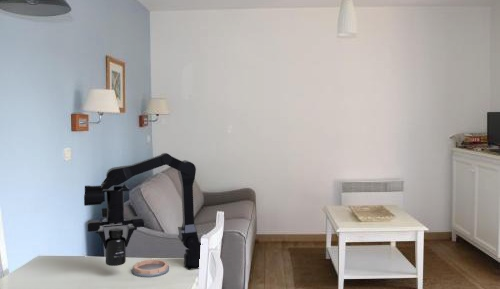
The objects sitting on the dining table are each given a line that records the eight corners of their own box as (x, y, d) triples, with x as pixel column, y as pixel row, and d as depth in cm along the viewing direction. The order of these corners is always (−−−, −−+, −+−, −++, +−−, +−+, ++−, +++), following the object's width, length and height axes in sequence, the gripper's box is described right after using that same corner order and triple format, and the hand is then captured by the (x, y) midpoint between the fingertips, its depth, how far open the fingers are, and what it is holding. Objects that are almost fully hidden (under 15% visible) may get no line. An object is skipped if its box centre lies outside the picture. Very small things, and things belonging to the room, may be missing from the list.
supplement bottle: (119, 267, 148) (119, 232, 147) (101, 265, 149) (101, 231, 149) (129, 260, 155) (129, 227, 154) (112, 259, 156) (111, 226, 155)
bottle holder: (165, 263, 165) (165, 257, 165) (172, 274, 153) (172, 268, 153) (130, 267, 160) (130, 261, 160) (135, 279, 148) (134, 273, 148)
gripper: (139, 198, 162) (139, 239, 163) (86, 201, 155) (87, 244, 156) (143, 203, 152) (144, 247, 152) (87, 207, 144) (88, 253, 145)
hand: (116, 247), depth 152 cm, fingers closed on supplement bottle, 7 cm apart
